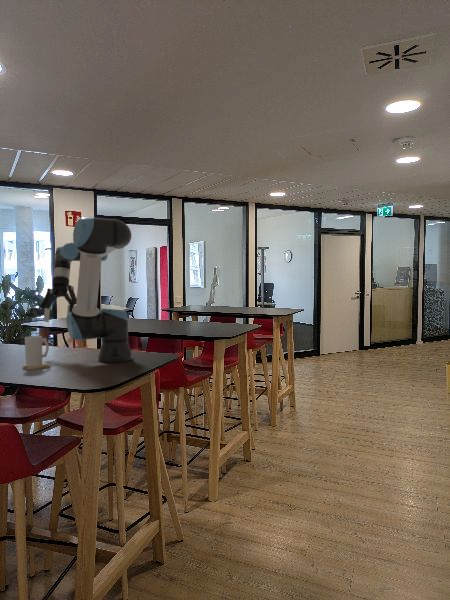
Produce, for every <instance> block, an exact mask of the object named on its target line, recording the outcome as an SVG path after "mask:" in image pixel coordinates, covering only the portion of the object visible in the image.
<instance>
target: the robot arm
mask: <svg viewBox="0 0 450 600" xmlns="http://www.w3.org/2000/svg"><path fill="white" fill-rule="evenodd" d="M72 232H73V233H72V237H73V238H72V240H73V241H72V242H67V243H65V244H63V245H62V246H58V247H57V248H56V249H55V253H54V265H53V266H54V267H53V276H52V286H53V287H52V288H50V287H49V288H47V289H46V290H47V291H46V294H45V296H44V298H43V300H42V301H41V304H40V308H42V309H43V322H44V323H49V322H50V315H51V314H50V313H51V309H50V307H51V306H52V305H53V303H54V302H55V300H56V299H58V298H60V297H63V298H64V299H65V300H66V301H67V303H68V304H67V309H66V310H67V311H66V318H65V319H66V322H65V323H66V328H67V332H68V335H69V337H70V338H71V340H73V341H83V340H84V341H85V340H95V339H101V345H100V349H99V354H98V357H97V359H98V361H99V362H101V363H113V364H114V363H123V362H128V361H132V360H133V353H132V351H131V350H132V349H131V347H130V343H129V320H128V319H129V318H128V312H127V311H126V310H123V309H115V308H114V309H113V308H112V309H111V308H101V309H99V307H97V306H98V299H99V298H98V297H99V287H100V281H101V280H100V277H101V270H102V269H101V268H102V262H105V261H107V259H108V255H109V254H111V253H113V252H114V251H116V250H121V249H123V248H126V247H127V246H128V245H129V244H130V242H131V240H132V231H131V228H130V227H129V225H127V223H125V222H124V221H122V220H121V219H117V218H105V217H102V218H101V217H92V216H90V217H89V216H88V217H80V218H79V219H78V220H76V223H75V225H74V227H73V231H72ZM72 262H79V268H78V279H77V290H76V294H75V291H74V290H75V288H74V286H72V285H70V277H71V276H70V275H71V265H72Z"/></svg>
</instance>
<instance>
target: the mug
mask: <svg viewBox="0 0 450 600" xmlns="http://www.w3.org/2000/svg"><path fill="white" fill-rule="evenodd" d="M43 343H44V344H45V351H44V353H43ZM49 348H50V345H49V343H48V339H47V338H46V337H45V338H43V336H41V335H29V336H25V337H24V351H25V352H24V353H25V365H26V366H28V367H35V366H41V365H42V363H43V358H47V355H48V353H49Z"/></svg>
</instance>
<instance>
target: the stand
mask: <svg viewBox="0 0 450 600" xmlns="http://www.w3.org/2000/svg"><path fill="white" fill-rule="evenodd" d="M49 368H51V363H49V362H42V365H41V366H35V367H28V366H26V364H24V365H23V366H22V369H23V370H24V369H25V370H26V371H39V370H45V369H49Z"/></svg>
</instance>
